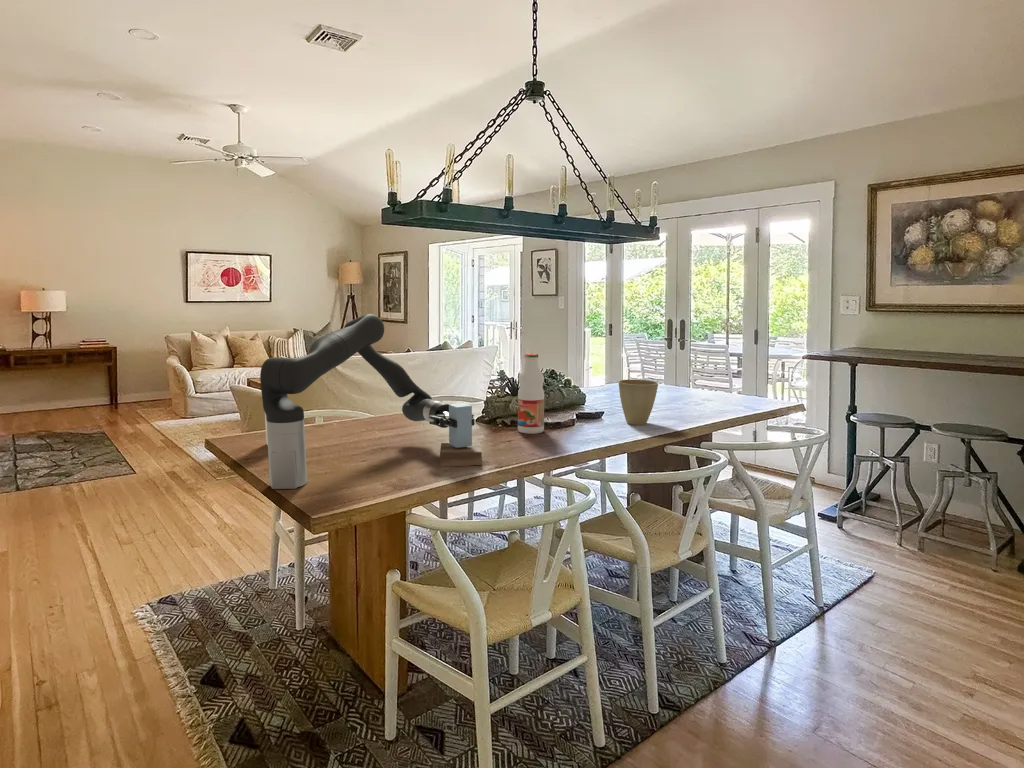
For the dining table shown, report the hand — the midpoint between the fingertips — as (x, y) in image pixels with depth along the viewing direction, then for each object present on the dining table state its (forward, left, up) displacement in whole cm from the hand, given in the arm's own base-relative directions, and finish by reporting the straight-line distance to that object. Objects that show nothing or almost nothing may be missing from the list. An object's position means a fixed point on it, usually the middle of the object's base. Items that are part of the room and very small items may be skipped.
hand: (464, 423), depth 194 cm
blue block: (+2, +1, -7) cm, 7 cm away
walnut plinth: (+2, +1, -12) cm, 12 cm away
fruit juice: (+41, -24, -12) cm, 49 cm away
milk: (+26, +61, -12) cm, 68 cm away
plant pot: (+53, -66, -12) cm, 85 cm away
